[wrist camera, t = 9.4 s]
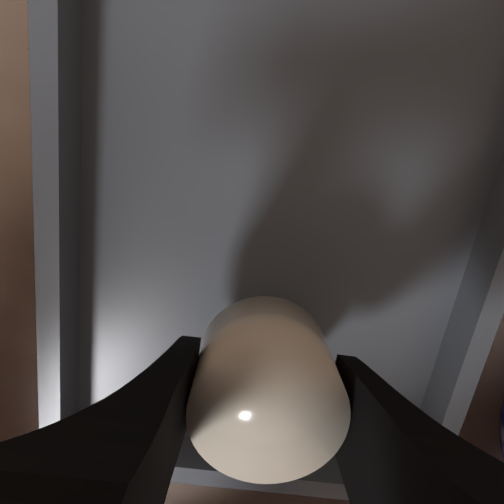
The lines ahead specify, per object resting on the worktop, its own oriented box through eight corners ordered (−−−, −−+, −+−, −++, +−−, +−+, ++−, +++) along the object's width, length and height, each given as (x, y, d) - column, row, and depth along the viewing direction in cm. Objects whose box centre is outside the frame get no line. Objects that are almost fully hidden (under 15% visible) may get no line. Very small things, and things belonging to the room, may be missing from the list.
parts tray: (410, 468, 17) (431, 509, 15) (64, 430, 16) (40, 468, 14) (631, -192, 10) (718, -269, 8) (63, -308, 10) (16, -422, 8)
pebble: (313, 413, 13) (332, 491, 10) (195, 399, 13) (178, 475, 10) (337, 304, 12) (367, 357, 9) (208, 288, 12) (194, 335, 9)
